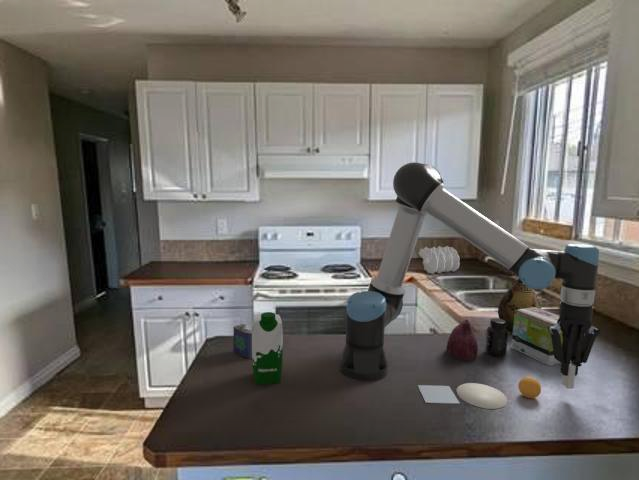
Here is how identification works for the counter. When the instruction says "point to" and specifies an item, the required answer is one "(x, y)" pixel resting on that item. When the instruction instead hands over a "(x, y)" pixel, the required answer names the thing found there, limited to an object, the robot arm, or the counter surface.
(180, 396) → the counter surface
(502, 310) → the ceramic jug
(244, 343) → the flask
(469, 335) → the vegetable
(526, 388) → the ball
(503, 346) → the supplement bottle
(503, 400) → the disc
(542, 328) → the tea box
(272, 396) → the counter surface
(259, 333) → the milk carton
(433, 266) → the white ribbed cylinder
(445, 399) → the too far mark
